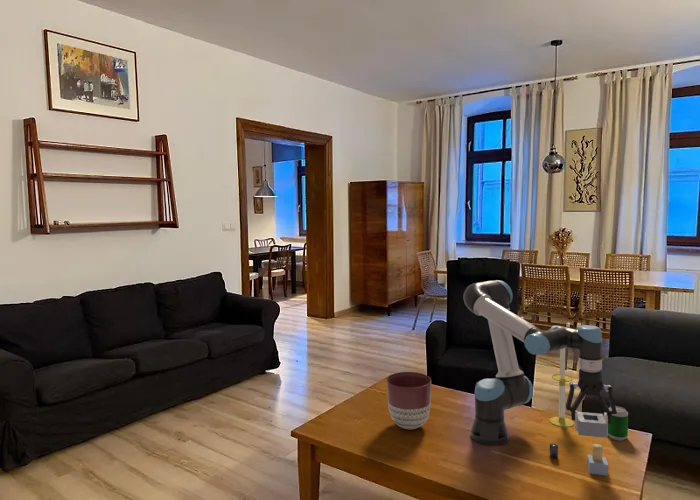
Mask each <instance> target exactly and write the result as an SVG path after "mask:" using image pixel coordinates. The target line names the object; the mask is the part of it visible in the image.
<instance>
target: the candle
mask: <svg viewBox="0 0 700 500" xmlns="http://www.w3.org/2000/svg"><path fill="white" fill-rule="evenodd" d="M551 378H552V379H553V380H555V381H558V416H553V417H551V418H549V422H550V424H551V425H554V426H557V427H559V426H560V428H571V427H573V426H575V421H573V420H572V419H571V418H568V417H566V383H567V382H569V383H570V382H572V381H573V380H574V378H573V377H572V376H570V375H568V374H566V348H564V349H560V350H559V373H555V374H552V375H551Z"/></svg>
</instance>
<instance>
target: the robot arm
mask: <svg viewBox="0 0 700 500" xmlns="http://www.w3.org/2000/svg"><path fill="white" fill-rule="evenodd" d="M513 296H514V295H513V290H512V289H511V287H510V285H508V283H506V282H505V281H503V280H500V279H499V280H498V279H496V280H495V279H494V280H487V281H480V282H474V283H472V284H469V285H468V286H467V287H466V288H465V290H464V292H463V297H462V298H463V303H464V305H465V306H466V308H467V309H468V310H469V311H470V312H471V313H473V314H475V315H476V316H479V317H480V316H482V317H484V318H485V319H487V322H488V326H489V331H490V332H489V333H490V337H491V341H492V345H493V347H492V348H493V351H494V355H495V361H496V365H497V369H498V372H497V373H496V375H495V378H494V377H493V378H483V379H481V380H479V381H477V382H476V384H475V388H474V413H475V414H474V420H473V422H472V425H471V429H470V437H471V439H473V440H474V441H475V442H477V443H479V444H482V445H486V446H501V445H504V444H506V443H508V442H509V437H510V436H509V435H510V434H509V430H508V428H507V425H506V422H505V410H510V409H512V408H516V407H520V406H523V405H525V404H527V403H529V402H530V401H531V399H532V398H533V394H534V388H533V384H532V383H533V382H532V381H531V380H529V378H528V377H527V376H526V375H525V373H524V371H523V370H521V369H520V367H519V363H518V359H517V353H516V349H515V344H514V339H513V337H515V338H516V339H517V340H519V341H521V342H523V343H524V348H525V349H526V350H527V352H528V353H530V354H531V355H535V356H536V355H537V356H538V355H544V354H548V353H551V352H555V351H560V349H564V348H565V349H570V350H574V351H578V368H579V369H578V381H577V382H572V381H569V391H568V394H567V399H566V402H565V410H566V411H569V412H570V417H571V418H570V419H571V420H572V421H573V422H574V429H575V431H577V432H578V420H577V418H578V413H577V412H578V410H577V409H578V408H579V406H580V405H581V403H582V402H583V399H584V398H585V397H586V396H593V397H597V398H598V400H599V402H600V403H601V406H602V407H603V410H605V412H603V416H604V418H605V421H606V423H607V434H608V424H611V415H612V414H617V411H616V407H615V406H616V404H615V399H614V396H613V387H612V385H611V384H603V371H602V370H603V356H602V355H603V354H602V353H603V337H602V336H603V335H602V329H601V328H600V327H598V326H596V325H588V324H584V325H579V327H578V329H577V328H571V327H566V326H564V325H552V326H551V327H550V328H549V329H548V330H542V329H541V328H539V327H537V326H536V325H534V324H532V323H530V322H529V321H527V320H525V319H524V318H522V317H521V316H519V315H517V314H515V313H514V312H512V311H510V310H511V308H510V304H511V303H512V301H513V298H514V297H513ZM577 388H578V389H580V391H579V394H578V395H577V397H576V399H574V402H573V398H574V395H575V390H576V389H577ZM603 389H604V391H605V392H606V393H607V398H608V402H609V405H610V407H611V409H610V410H609V408H610V407H609V406H608V405H607V403H606V401H605V400H604V398H603V396H602V394H601V391H602V390H603ZM572 402H573V404H572Z"/></svg>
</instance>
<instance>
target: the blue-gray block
mask: <svg viewBox="0 0 700 500" xmlns="http://www.w3.org/2000/svg"><path fill="white" fill-rule="evenodd" d="M603 447H604V446H603V445H601V444H597V443H594V444H592V454H590V453H589V454H586V467H587V470H588V473H589V474H592V475H599V476H607V477H608V476H609V463H608V460H607V458H606V456H604V455H603V454H604V453H603V452H604V449H603Z"/></svg>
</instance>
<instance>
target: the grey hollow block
mask: <svg viewBox="0 0 700 500" xmlns="http://www.w3.org/2000/svg"><path fill="white" fill-rule="evenodd" d="M577 413H578V418H577V420H578V431H577V435H579V436H584V437H595V438H604V439H605V438H606V439H607V438H608V435H607V423H606V421H605V418H604V413H598V412H597V413H596V412H585V411H584V412H583V411H577Z"/></svg>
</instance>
